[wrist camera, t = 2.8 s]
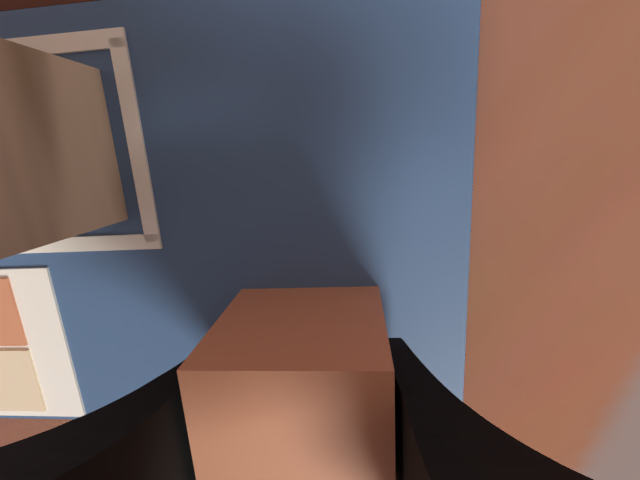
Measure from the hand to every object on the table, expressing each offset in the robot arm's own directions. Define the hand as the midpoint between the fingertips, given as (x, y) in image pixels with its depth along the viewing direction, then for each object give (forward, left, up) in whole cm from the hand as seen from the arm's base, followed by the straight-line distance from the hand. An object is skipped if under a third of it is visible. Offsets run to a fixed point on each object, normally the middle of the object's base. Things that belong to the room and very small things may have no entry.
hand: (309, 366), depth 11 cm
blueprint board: (-5, +4, -2) cm, 7 cm away
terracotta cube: (0, 0, -1) cm, 1 cm away
